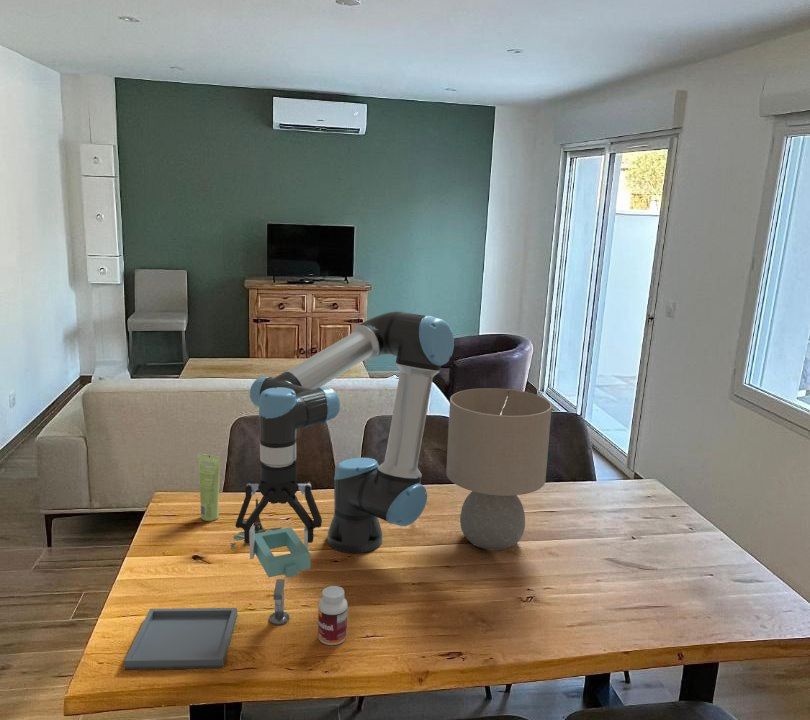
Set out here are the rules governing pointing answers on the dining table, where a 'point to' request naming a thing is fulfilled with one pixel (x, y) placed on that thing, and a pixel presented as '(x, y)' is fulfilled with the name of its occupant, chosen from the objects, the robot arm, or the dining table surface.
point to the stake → (279, 604)
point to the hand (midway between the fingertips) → (279, 555)
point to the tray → (182, 639)
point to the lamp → (497, 460)
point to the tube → (209, 486)
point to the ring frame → (282, 563)
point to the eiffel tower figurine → (257, 530)
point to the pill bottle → (332, 616)
